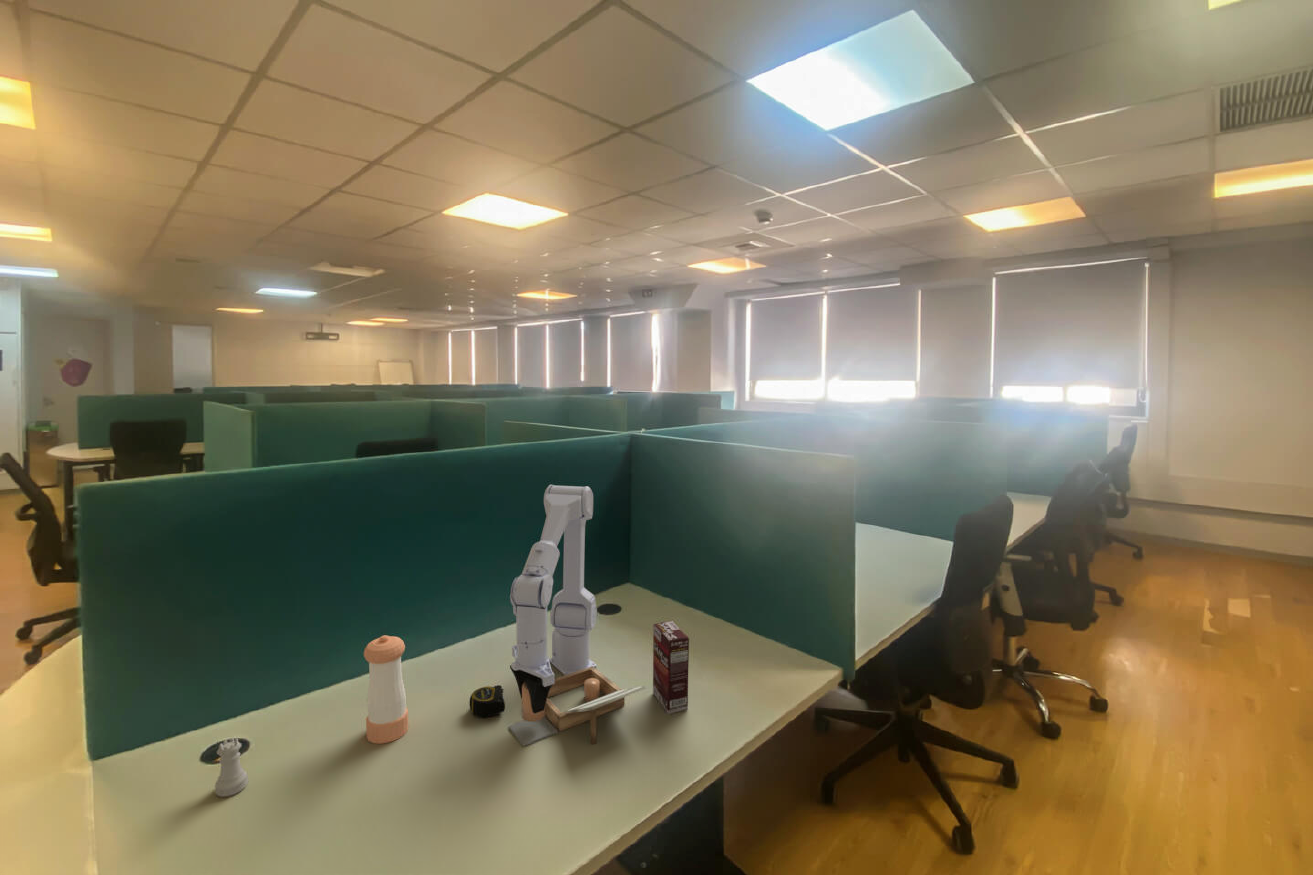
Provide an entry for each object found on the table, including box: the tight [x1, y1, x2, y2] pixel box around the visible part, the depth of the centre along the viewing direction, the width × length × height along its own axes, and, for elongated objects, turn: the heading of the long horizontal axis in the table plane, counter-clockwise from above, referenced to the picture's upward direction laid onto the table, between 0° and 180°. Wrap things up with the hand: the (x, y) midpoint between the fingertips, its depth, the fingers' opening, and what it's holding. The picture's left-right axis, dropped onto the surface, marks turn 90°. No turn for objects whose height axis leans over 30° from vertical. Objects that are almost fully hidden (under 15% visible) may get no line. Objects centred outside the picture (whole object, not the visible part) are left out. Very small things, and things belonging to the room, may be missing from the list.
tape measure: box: [469, 684, 506, 718], centre depth 116 cm, size 7×7×4 cm
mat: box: [508, 716, 559, 747], centre depth 110 cm, size 7×7×1 cm
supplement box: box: [652, 620, 690, 715], centre depth 119 cm, size 9×5×16 cm, turn 23°
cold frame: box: [544, 666, 646, 745], centre depth 115 cm, size 22×15×9 cm
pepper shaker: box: [363, 634, 410, 745], centre depth 108 cm, size 7×7×19 cm
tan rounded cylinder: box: [583, 678, 600, 702], centre depth 121 cm, size 3×3×4 cm
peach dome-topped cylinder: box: [521, 683, 546, 722], centre depth 109 cm, size 4×4×6 cm
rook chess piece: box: [214, 737, 249, 798], centre depth 93 cm, size 4×4×8 cm
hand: (532, 704), depth 109 cm, fingers closed on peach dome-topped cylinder, 4 cm apart
